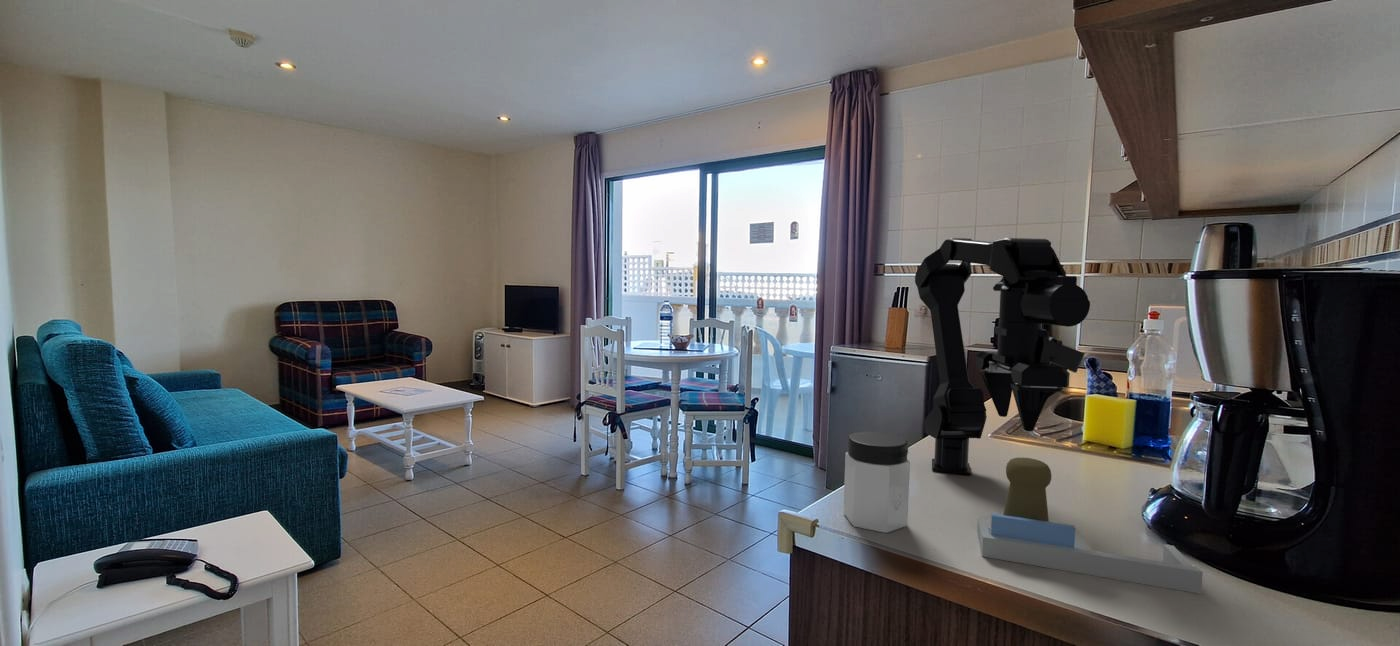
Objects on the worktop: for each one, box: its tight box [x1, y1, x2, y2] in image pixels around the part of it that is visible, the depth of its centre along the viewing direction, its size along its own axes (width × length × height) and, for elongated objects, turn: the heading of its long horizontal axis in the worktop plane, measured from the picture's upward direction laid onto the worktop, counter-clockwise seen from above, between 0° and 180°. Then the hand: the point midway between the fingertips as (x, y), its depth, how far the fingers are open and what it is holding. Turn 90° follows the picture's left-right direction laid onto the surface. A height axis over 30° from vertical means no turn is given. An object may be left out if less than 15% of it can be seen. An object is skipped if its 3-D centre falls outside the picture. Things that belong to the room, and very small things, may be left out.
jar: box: [843, 431, 911, 534], centre depth 82 cm, size 9×8×12 cm
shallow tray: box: [976, 513, 1204, 595], centre depth 72 cm, size 9×22×5 cm, turn 68°
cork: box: [1002, 457, 1053, 522], centre depth 75 cm, size 6×6×11 cm
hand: (1015, 423), depth 88 cm, fingers open, 9 cm apart
